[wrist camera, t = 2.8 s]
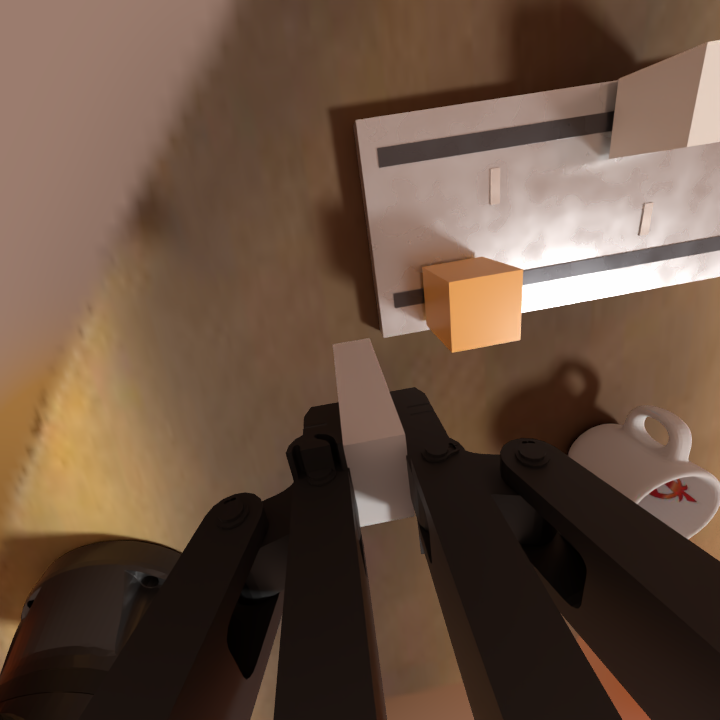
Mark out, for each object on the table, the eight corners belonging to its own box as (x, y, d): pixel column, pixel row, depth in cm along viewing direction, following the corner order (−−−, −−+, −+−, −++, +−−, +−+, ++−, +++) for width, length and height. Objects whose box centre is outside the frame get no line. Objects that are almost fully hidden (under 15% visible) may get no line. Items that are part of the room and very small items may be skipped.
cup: (576, 384, 31) (658, 440, 23) (659, 382, 32) (762, 436, 24) (545, 483, 35) (606, 557, 28) (619, 478, 36) (697, 549, 28)
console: (380, 330, 26) (384, 338, 25) (353, 125, 21) (355, 119, 20) (732, 267, 28) (756, 270, 26) (791, 58, 22) (824, 48, 21)
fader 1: (426, 325, 25) (452, 352, 20) (422, 266, 23) (448, 282, 18) (482, 315, 25) (520, 340, 20) (482, 256, 23) (523, 269, 19)
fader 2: (608, 159, 22) (686, 147, 17) (618, 78, 20) (707, 41, 16) (670, 149, 22) (763, 134, 17) (685, 68, 20) (792, 29, 16)
